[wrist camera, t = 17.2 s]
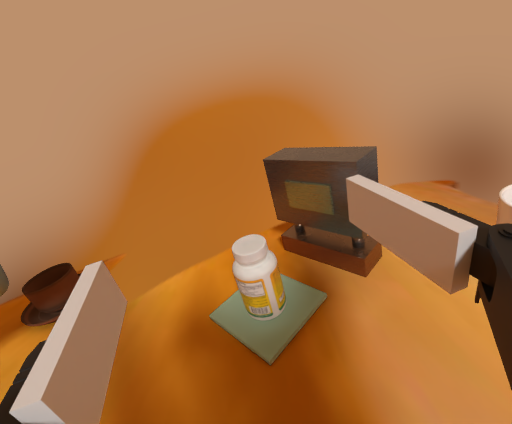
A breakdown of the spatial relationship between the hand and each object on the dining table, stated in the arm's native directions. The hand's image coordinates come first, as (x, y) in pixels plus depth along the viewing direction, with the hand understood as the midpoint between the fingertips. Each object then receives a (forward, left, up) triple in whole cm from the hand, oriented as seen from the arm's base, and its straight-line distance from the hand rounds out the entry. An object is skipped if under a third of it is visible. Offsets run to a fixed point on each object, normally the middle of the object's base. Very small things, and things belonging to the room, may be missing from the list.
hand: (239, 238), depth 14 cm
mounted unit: (-10, +21, -19) cm, 31 cm away
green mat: (-11, +8, -19) cm, 24 cm away
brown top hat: (-44, -11, -19) cm, 49 cm away
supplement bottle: (-11, +8, -19) cm, 23 cm away
